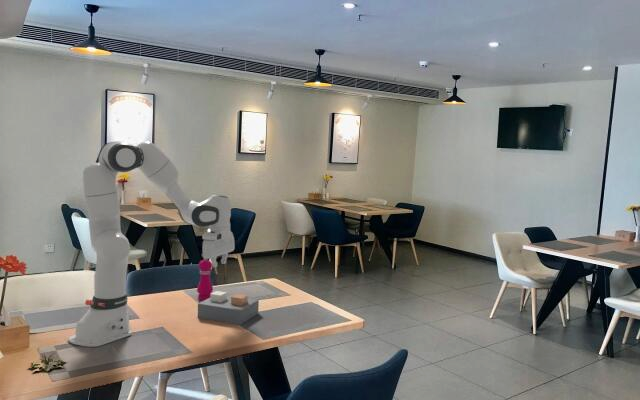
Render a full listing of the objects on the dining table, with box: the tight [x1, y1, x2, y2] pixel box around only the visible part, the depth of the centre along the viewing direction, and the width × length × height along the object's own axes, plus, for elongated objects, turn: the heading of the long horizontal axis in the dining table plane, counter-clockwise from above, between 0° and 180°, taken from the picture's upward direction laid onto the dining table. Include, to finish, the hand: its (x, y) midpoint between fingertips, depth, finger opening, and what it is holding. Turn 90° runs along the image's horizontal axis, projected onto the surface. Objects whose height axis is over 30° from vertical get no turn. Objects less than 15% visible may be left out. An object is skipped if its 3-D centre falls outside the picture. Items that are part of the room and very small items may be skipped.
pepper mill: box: [196, 257, 214, 301], centre depth 239 cm, size 7×7×20 cm
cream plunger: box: [210, 290, 228, 303], centre depth 219 cm, size 5×5×5 cm
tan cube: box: [231, 293, 249, 306], centre depth 215 cm, size 5×5×5 cm
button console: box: [197, 294, 260, 325], centre depth 217 cm, size 16×20×6 cm
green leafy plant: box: [29, 351, 64, 371], centre depth 163 cm, size 12×12×5 cm
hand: (219, 265), depth 217 cm, fingers open, 5 cm apart
